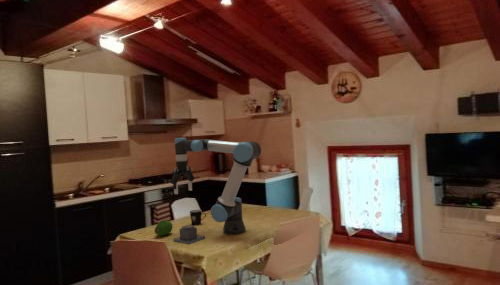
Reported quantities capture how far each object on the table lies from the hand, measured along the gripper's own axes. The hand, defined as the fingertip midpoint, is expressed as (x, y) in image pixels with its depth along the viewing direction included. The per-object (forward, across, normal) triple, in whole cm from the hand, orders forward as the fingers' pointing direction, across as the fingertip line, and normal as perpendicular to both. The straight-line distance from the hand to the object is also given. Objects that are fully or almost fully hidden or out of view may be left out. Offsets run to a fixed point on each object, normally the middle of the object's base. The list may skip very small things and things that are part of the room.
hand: (183, 192), depth 255 cm
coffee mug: (+28, -23, -10) cm, 38 cm away
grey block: (+27, +10, +12) cm, 31 cm away
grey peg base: (+28, +10, +12) cm, 32 cm away
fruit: (+28, +9, -12) cm, 32 cm away
